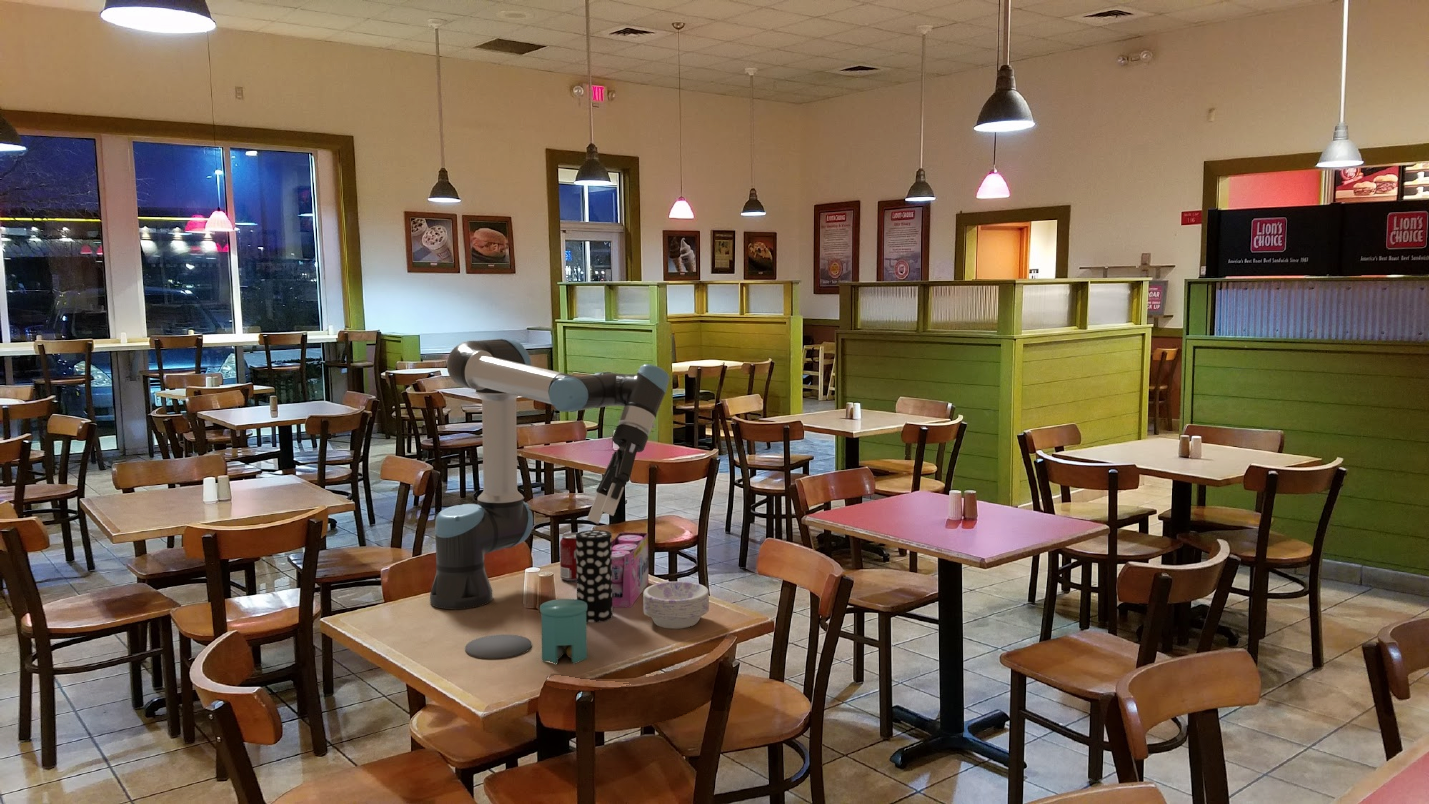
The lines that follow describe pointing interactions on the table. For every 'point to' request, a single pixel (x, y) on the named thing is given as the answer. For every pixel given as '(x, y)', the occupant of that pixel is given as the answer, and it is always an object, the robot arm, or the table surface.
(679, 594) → the paper bowls
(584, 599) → the spotted tube
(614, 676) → the table surface
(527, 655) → the table surface
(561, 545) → the soda can
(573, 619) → the teal piece
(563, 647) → the olive marble
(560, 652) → the grey marble
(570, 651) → the amber marble
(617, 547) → the gum box
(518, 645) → the coaster
